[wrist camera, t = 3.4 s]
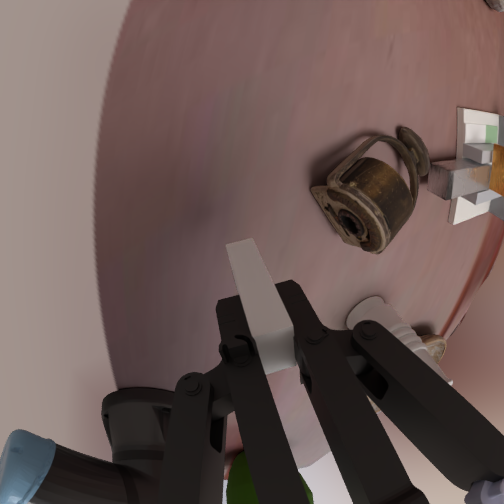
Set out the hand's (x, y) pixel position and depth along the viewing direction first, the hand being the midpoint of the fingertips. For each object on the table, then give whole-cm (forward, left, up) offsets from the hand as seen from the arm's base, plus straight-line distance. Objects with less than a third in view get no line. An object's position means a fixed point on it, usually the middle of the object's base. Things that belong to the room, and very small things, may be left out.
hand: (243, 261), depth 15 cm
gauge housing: (+34, 0, -7) cm, 35 cm away
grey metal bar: (+26, +1, -6) cm, 26 cm away
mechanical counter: (+14, 0, -8) cm, 16 cm away
